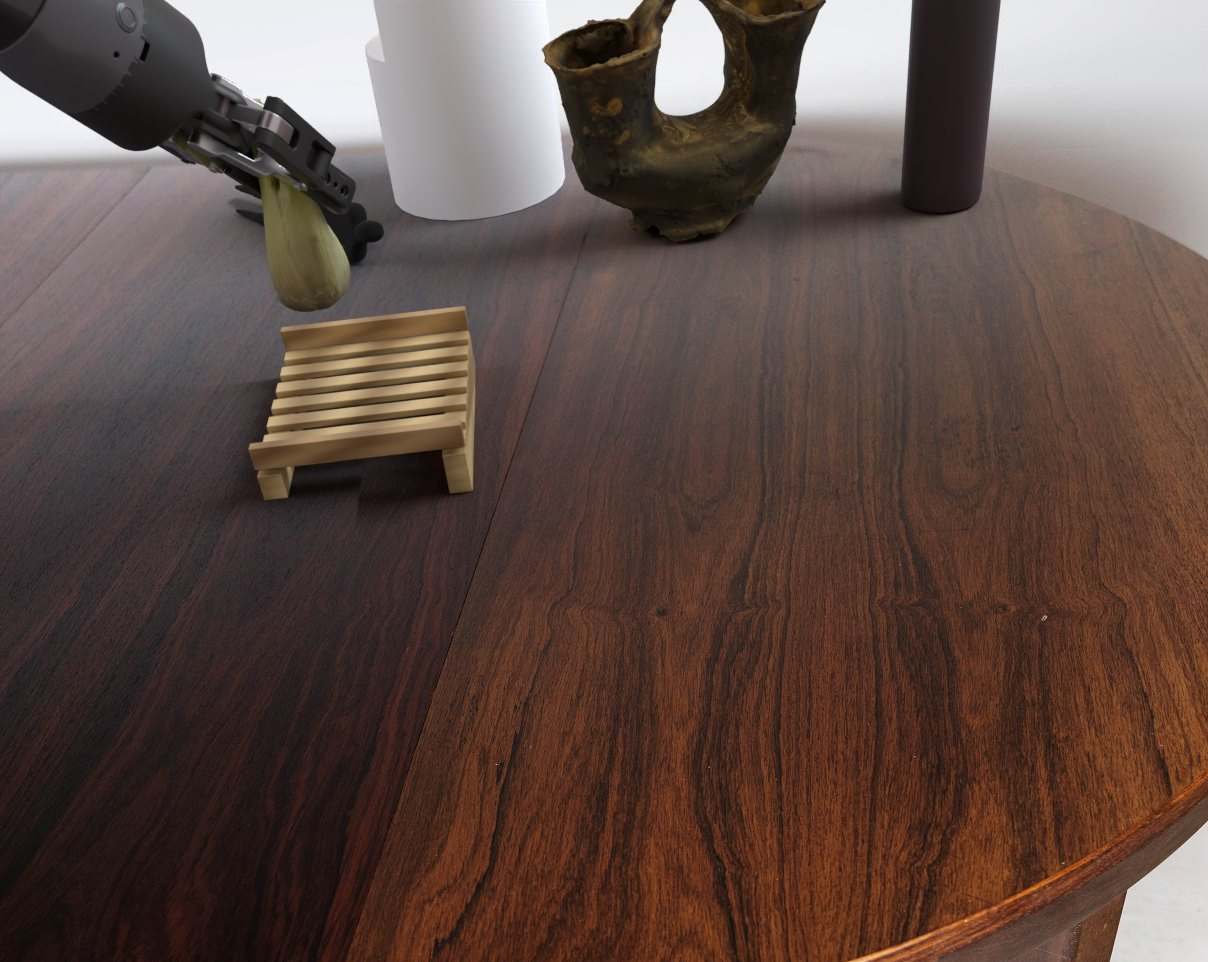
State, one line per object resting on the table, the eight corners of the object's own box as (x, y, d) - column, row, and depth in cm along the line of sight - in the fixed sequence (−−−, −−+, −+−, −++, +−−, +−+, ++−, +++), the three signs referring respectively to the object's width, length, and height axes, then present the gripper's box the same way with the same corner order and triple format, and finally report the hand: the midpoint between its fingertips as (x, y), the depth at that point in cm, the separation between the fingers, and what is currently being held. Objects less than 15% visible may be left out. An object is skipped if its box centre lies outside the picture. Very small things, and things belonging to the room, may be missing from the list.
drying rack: (268, 515, 88) (248, 449, 85) (298, 388, 101) (281, 327, 98) (473, 491, 88) (460, 424, 84) (475, 367, 101) (465, 305, 98)
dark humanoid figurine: (162, 159, 123) (301, 197, 108) (245, 160, 129) (389, 196, 113) (168, 248, 127) (304, 297, 112) (249, 245, 133) (388, 292, 117)
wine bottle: (981, 184, 118) (1021, -216, 98) (979, 215, 113) (1021, -200, 93) (902, 184, 120) (926, -209, 100) (897, 215, 115) (921, -193, 95)
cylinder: (600, 173, 129) (569, -161, 111) (473, 234, 121) (416, -117, 102) (485, 144, 139) (438, -168, 120) (359, 198, 130) (288, -128, 112)
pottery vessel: (788, 171, 125) (788, -63, 112) (845, 207, 117) (853, -40, 104) (547, 232, 120) (518, -7, 106) (590, 273, 112) (565, 21, 99)
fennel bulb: (277, 289, 84) (228, 93, 76) (352, 277, 85) (311, 81, 77) (280, 327, 80) (228, 124, 72) (359, 314, 81) (316, 111, 72)
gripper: (-22, 93, 68) (213, 232, 83) (153, 126, 61) (376, 271, 76) (23, -46, 68) (252, 119, 83) (205, -28, 61) (419, 148, 76)
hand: (310, 191), depth 79 cm, fingers closed on fennel bulb, 5 cm apart
